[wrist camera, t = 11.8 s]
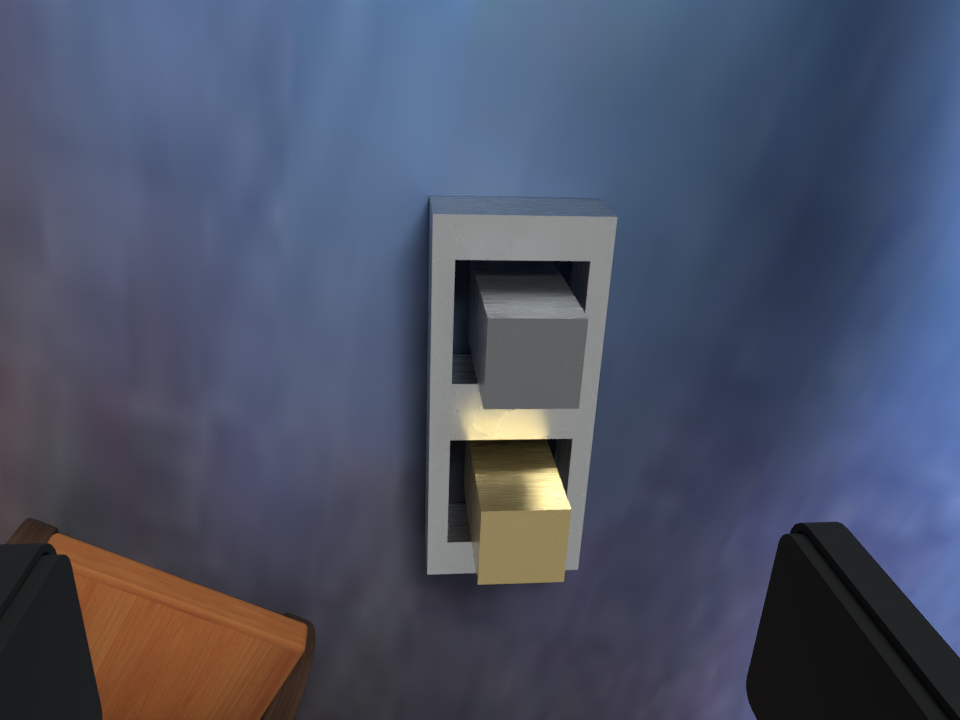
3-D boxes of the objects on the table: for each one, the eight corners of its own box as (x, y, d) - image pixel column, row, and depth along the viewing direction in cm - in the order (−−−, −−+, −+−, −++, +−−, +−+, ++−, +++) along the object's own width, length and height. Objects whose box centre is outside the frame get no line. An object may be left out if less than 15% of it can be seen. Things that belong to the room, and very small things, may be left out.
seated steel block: (552, 259, 38) (588, 318, 31) (545, 335, 40) (578, 408, 33) (470, 258, 38) (487, 318, 31) (467, 335, 40) (483, 409, 32)
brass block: (540, 422, 42) (571, 509, 35) (535, 486, 44) (563, 581, 36) (466, 423, 42) (481, 511, 34) (463, 487, 43) (477, 584, 36)
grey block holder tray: (598, 199, 37) (617, 217, 34) (564, 530, 45) (578, 569, 42) (429, 196, 37) (432, 213, 33) (424, 533, 44) (427, 574, 41)
